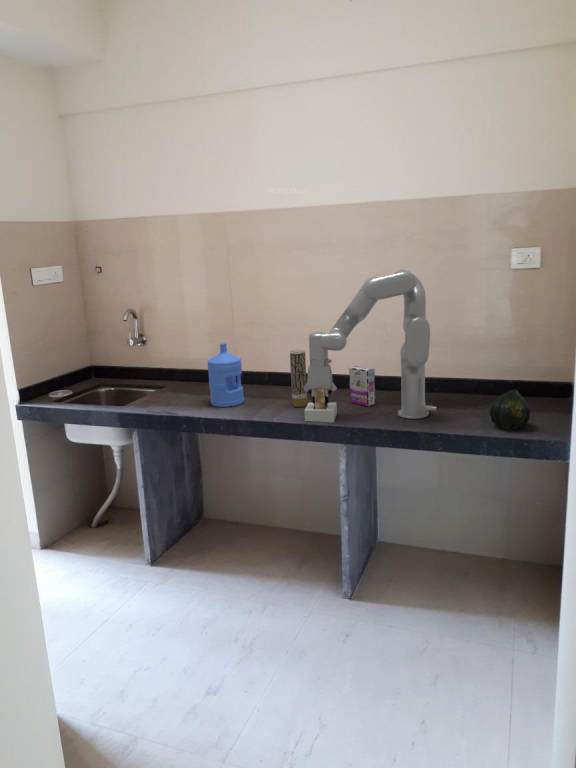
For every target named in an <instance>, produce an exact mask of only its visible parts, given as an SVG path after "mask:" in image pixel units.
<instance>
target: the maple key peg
mask: <svg viewBox="0 0 576 768" xmlns="http://www.w3.org/2000/svg"><path fill="white" fill-rule="evenodd" d="M314 393H315V409H327V407H326V406H325V390H324V389H315V390H314Z"/></svg>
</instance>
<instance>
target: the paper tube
mask: <svg viewBox="0 0 576 768" xmlns="http://www.w3.org/2000/svg"><path fill="white" fill-rule="evenodd" d="M289 358H290V359H289V361H290V362H289V365H290V381H291V382H290V383H291V385H290V386H291V400H292V401H291V402H292V406H293V407H295V408H303V407H307V405H308V392H307V391H305V390H304V387H305V385H306V384H307V363H306V362H307V361H306V350H305V349H292V350H289Z"/></svg>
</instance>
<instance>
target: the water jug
mask: <svg viewBox="0 0 576 768" xmlns="http://www.w3.org/2000/svg"><path fill="white" fill-rule="evenodd" d="M227 348H228V347H227V343H220V344H219V350H220V351H219V353H218V354H216V355H215V356H212V357H210V358H209V359H207V371H208V386H209V393H210V397H209V398H210V399H209V401H210V404H211V405H212V406H213V407H216V406H217V407H216V408H231V407H230V406H232V407H237V406H240V405H242V404H243V403H244V401H245V396H244V387H243V386H242V379H241V376H242V373H243V370H242V368H243V363H242V359H241V357H240V356H237V355H234V354H232V353H230V352H228V349H227ZM236 405H237V406H236Z"/></svg>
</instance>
